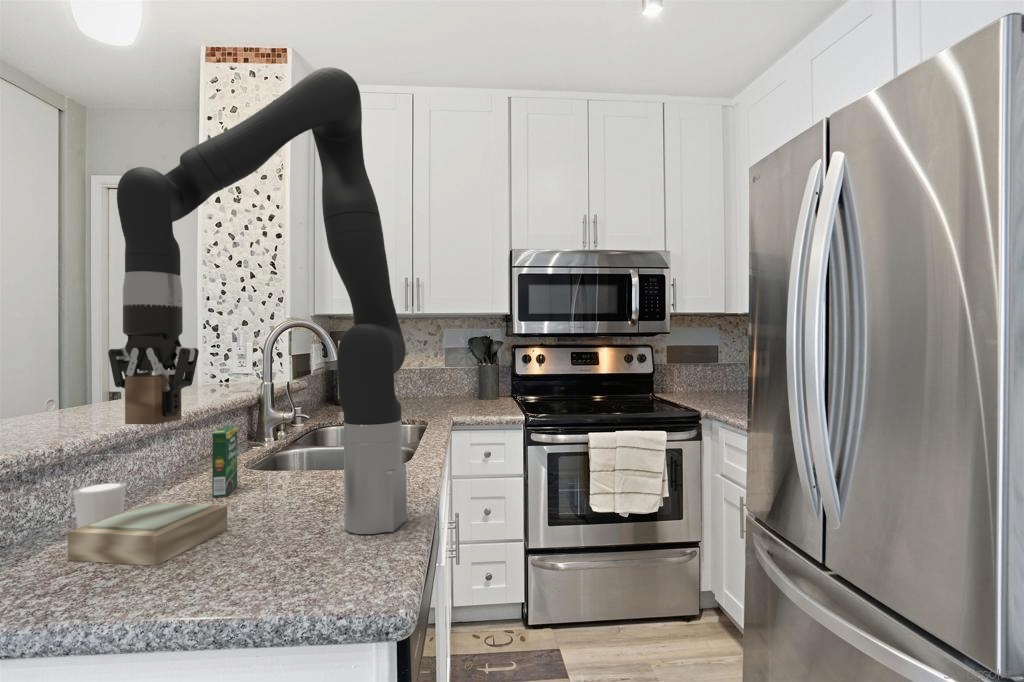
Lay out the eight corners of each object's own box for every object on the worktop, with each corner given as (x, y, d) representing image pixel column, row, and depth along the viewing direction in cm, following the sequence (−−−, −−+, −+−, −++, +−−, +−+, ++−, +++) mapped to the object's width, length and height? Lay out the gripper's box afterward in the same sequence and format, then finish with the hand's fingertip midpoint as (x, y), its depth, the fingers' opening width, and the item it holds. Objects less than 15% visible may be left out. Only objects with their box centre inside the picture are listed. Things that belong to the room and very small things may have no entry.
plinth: (227, 529, 85) (227, 502, 85) (155, 565, 71) (155, 533, 71) (152, 526, 87) (151, 499, 87) (68, 560, 73) (68, 528, 73)
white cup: (130, 520, 90) (130, 479, 90) (120, 533, 84) (120, 489, 84) (81, 526, 87) (80, 484, 87) (66, 540, 81) (66, 495, 81)
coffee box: (227, 497, 103) (226, 431, 103) (211, 498, 103) (210, 432, 103) (238, 486, 111) (238, 425, 111) (223, 487, 111) (223, 426, 111)
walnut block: (181, 419, 81) (181, 375, 81) (154, 424, 76) (154, 376, 76) (153, 419, 82) (153, 375, 82) (125, 424, 77) (124, 376, 77)
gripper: (213, 305, 82) (213, 413, 82) (134, 307, 84) (134, 412, 84) (175, 301, 75) (175, 420, 74) (89, 303, 77) (89, 418, 77)
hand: (153, 415), depth 79 cm, fingers closed on walnut block, 5 cm apart
